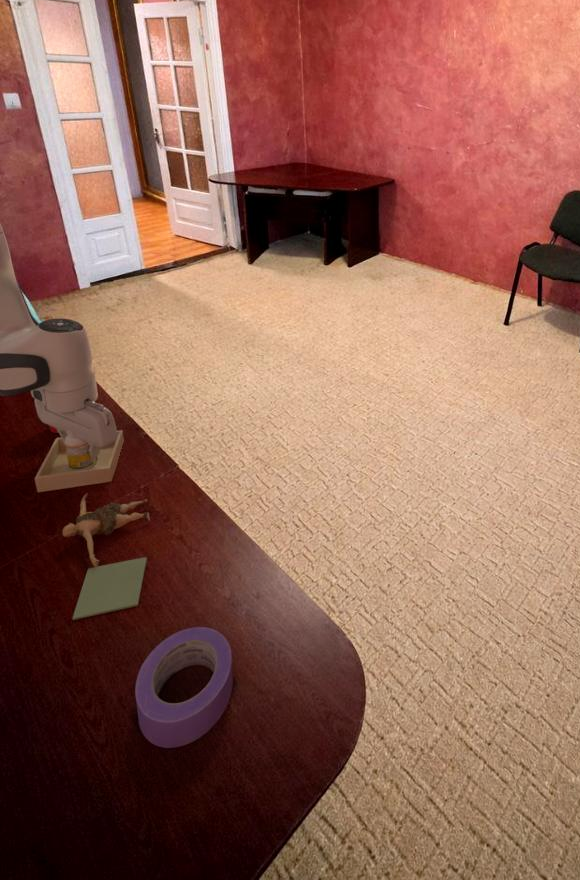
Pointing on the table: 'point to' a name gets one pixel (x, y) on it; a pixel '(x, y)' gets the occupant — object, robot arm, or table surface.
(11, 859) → the table surface
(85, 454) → the supplement bottle
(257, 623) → the table surface
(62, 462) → the tray
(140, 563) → the mat
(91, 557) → the figurine
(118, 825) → the table surface
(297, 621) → the table surface
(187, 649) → the tape roll
